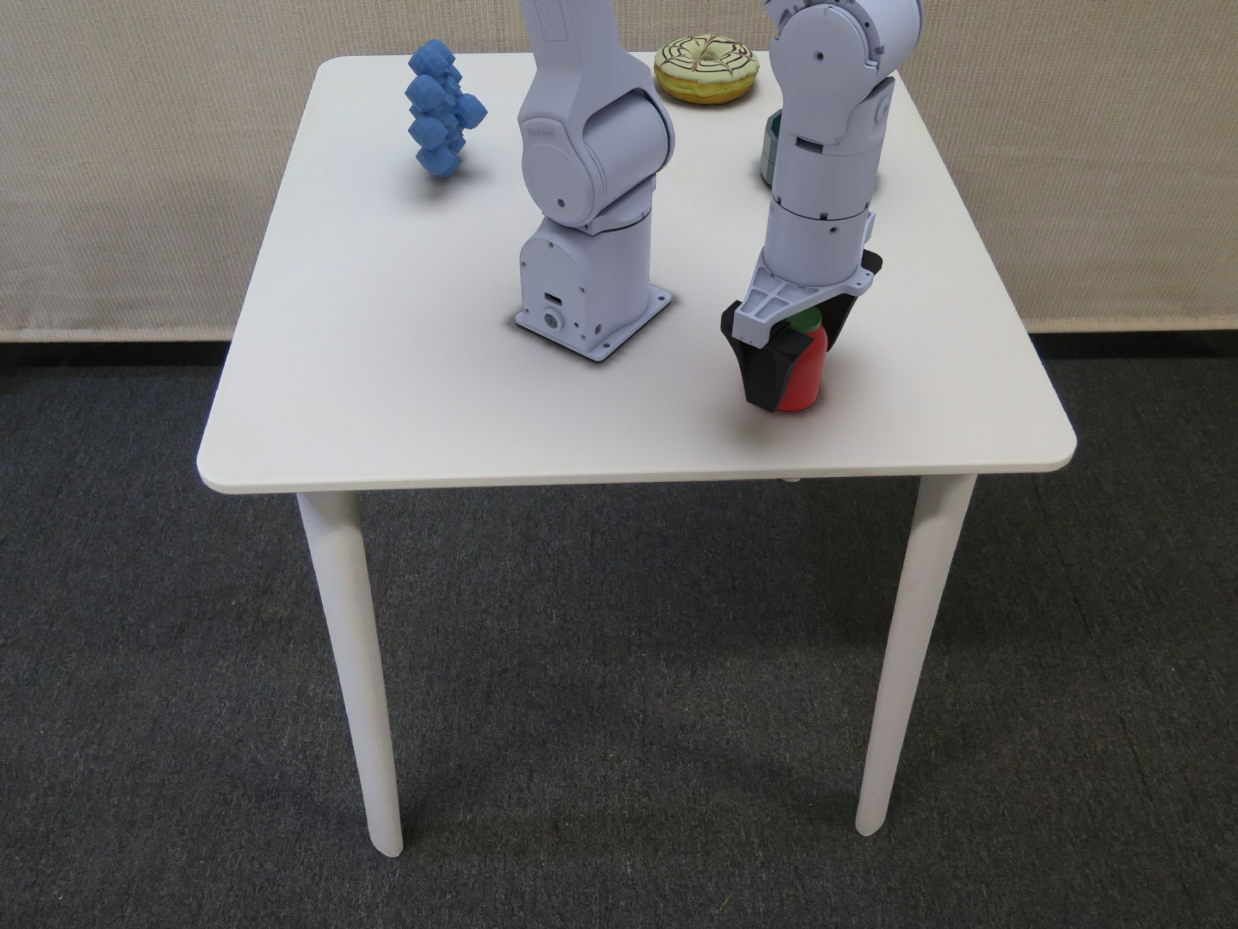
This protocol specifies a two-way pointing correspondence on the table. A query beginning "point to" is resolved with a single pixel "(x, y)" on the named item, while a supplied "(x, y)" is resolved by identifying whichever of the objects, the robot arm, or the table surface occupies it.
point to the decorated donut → (705, 68)
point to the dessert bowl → (770, 146)
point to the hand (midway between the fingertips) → (790, 373)
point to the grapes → (440, 108)
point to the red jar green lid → (806, 362)
